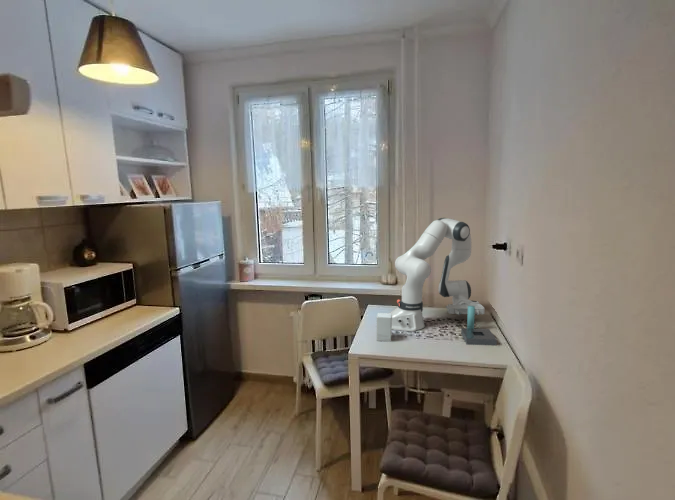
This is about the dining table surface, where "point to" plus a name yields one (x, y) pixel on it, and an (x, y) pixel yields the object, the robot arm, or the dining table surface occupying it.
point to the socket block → (478, 336)
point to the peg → (470, 317)
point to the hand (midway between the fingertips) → (468, 313)
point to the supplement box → (384, 326)
